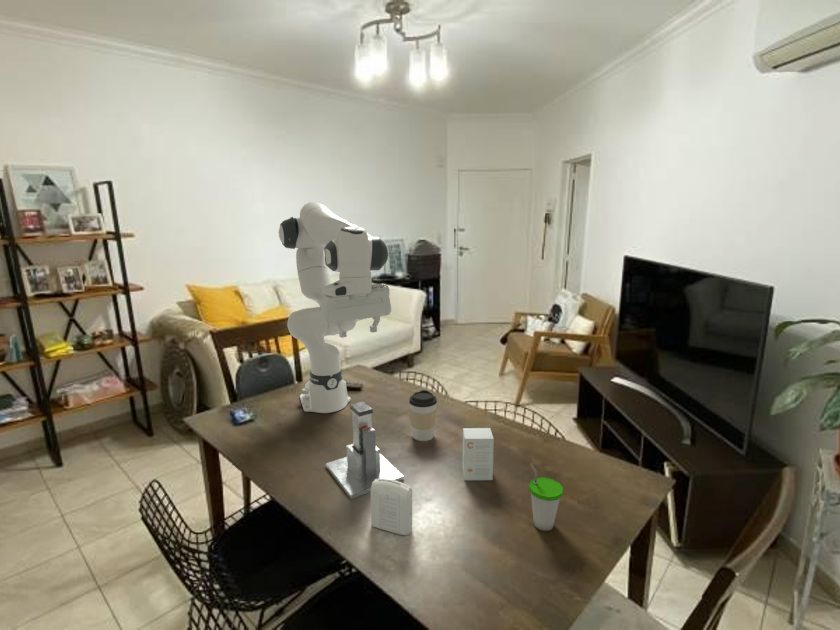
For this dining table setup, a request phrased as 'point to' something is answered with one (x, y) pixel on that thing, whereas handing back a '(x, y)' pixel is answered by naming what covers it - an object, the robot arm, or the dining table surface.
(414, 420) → the coffee cup
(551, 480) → the cup
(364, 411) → the column
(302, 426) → the dining table surface
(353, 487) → the stand base
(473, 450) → the small box
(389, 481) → the photo printer
